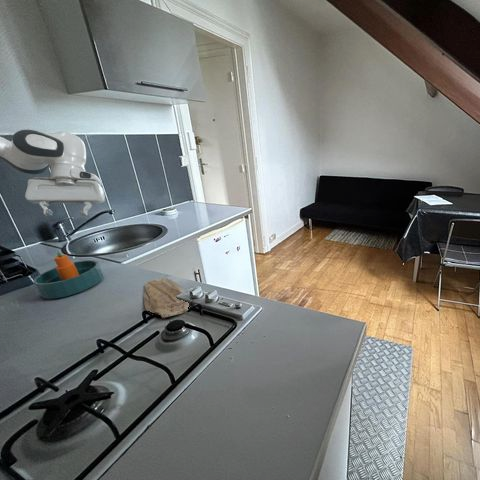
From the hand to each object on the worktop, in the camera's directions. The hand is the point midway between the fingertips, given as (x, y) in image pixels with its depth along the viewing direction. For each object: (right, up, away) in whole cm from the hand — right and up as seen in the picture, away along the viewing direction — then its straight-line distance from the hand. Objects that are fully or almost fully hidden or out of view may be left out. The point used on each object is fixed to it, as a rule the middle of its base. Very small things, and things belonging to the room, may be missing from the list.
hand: (66, 215), depth 89 cm
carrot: (+8, -23, -5) cm, 25 cm away
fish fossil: (+42, -25, -13) cm, 51 cm away
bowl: (+8, -23, -5) cm, 25 cm away
